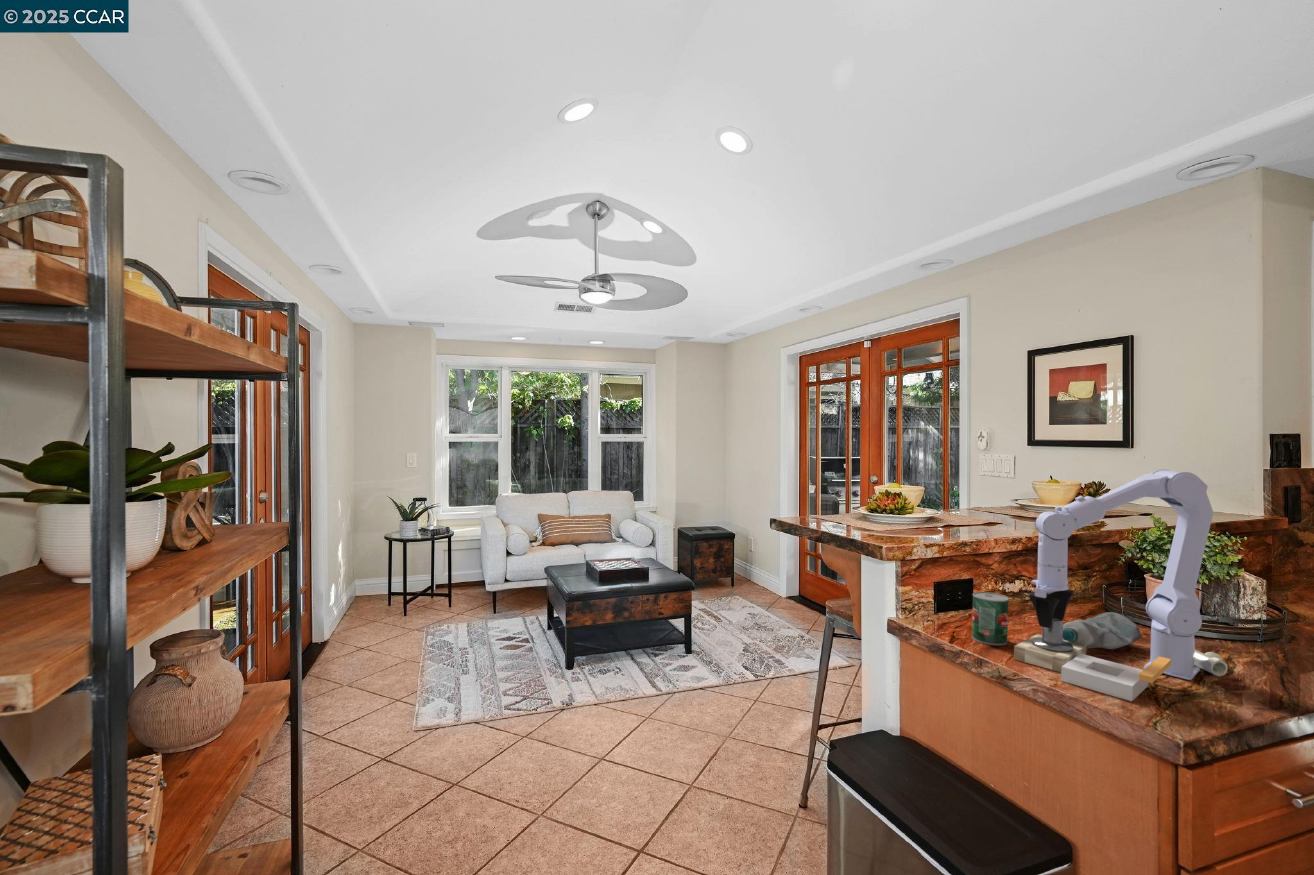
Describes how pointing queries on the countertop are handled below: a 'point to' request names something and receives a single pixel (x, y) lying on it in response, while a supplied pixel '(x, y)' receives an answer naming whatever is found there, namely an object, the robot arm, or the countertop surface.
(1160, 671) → the bar
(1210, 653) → the pipe fitting
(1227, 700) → the countertop surface
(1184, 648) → the robot arm
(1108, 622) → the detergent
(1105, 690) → the socket block
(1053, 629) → the glossy grey dome knob
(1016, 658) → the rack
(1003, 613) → the canned tomato
